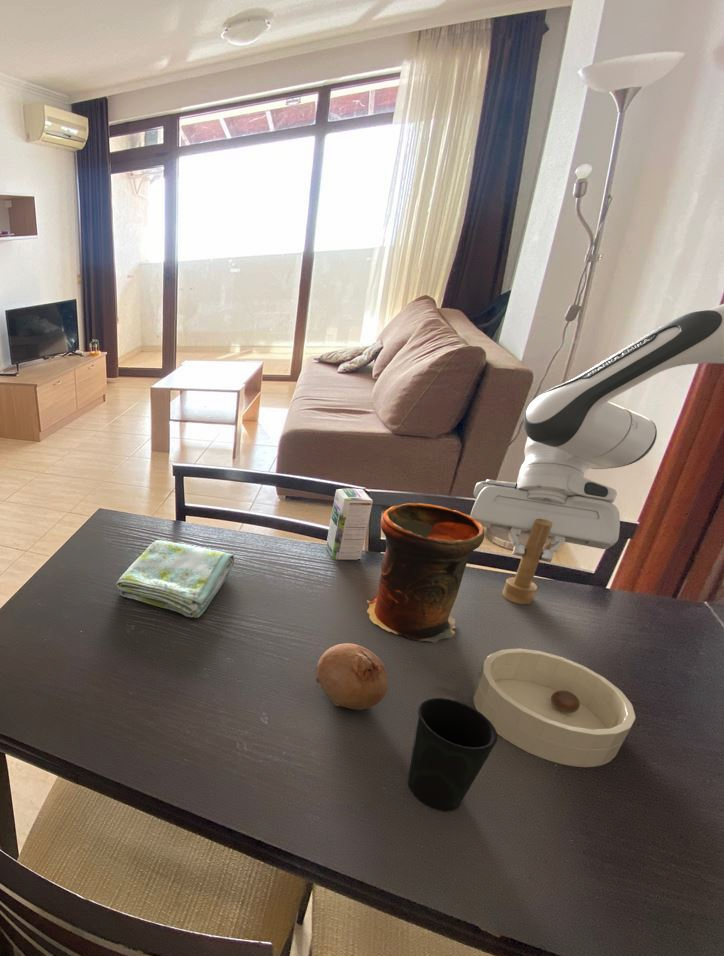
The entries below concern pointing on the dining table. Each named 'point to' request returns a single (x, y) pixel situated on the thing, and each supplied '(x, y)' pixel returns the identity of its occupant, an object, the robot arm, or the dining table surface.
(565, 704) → the bead
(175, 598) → the towel
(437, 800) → the cup
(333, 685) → the onion
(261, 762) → the dining table surface
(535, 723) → the bowl
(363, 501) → the syrup box
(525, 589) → the wooden tamper
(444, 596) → the vessel
